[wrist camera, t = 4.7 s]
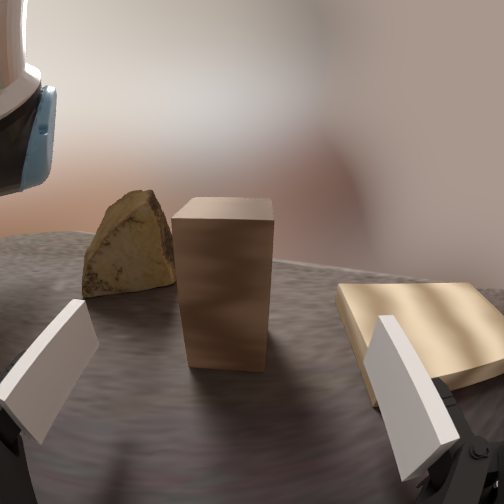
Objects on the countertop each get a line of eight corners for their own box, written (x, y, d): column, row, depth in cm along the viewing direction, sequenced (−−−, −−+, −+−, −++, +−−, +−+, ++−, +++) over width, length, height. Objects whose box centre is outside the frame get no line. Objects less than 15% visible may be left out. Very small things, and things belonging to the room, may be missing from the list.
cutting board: (372, 407, 14) (383, 386, 13) (334, 302, 25) (338, 283, 24) (521, 365, 13) (532, 347, 13) (462, 298, 25) (468, 282, 24)
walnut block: (188, 366, 17) (171, 218, 13) (201, 323, 22) (193, 197, 18) (264, 371, 17) (274, 220, 13) (264, 326, 22) (270, 198, 18)
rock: (53, 292, 20) (147, 286, 20) (61, 203, 22) (150, 182, 22) (112, 304, 31) (189, 300, 30) (113, 236, 33) (186, 225, 32)
